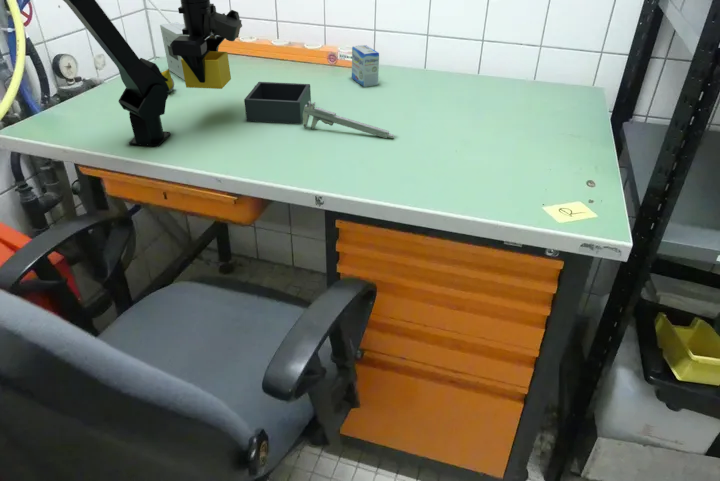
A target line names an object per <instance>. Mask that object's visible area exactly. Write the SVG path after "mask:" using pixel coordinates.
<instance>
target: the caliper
mask: <svg viewBox="0 0 720 481" xmlns="http://www.w3.org/2000/svg"><path fill="white" fill-rule="evenodd" d="M315 105H316V101H314V102H313V103H312V100H311V101H309V102H308V105H305V107H304V111H303V121H302V124H303V127H304V128H305V129H306V128H307V127H308V123H309V119H310V117H312V120H311V124H310V125H311V127H310V130H314V129H315V127H316V126H317V124H318V122H319V121H321V122H322V123H324V125H325V124H326V125H329V126H333V125H334V124H336V125H339V126H343V127H347V128H350V129H353V130H357V131H360V132H364V133H367V134H370V135H373V136H377V137H379V138H382V139H388V138H390V139H394V137H395V135H394V133H391V132H390V131H389V130H388V129H384V128H381V127H377V126H374V125H370V124H367V123H364V122H361V121H358V120H354V119H350V118H347V117H344V116H340V115H337V113H336V112H333V111H331V110H327V109H324V108H320V107H317V106H316V107H315Z"/></svg>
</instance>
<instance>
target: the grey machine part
mask: <svg viewBox="0 0 720 481" xmlns="http://www.w3.org/2000/svg"><path fill="white" fill-rule="evenodd" d="M182 19H183V20H184V17H183V16H182ZM159 27H160V32H161V37H162V43H163V47H164V54H165V58H166V64H167V68H168V69H169V71H170V73H173V74H174V75H176V76H177V77H179V79H182V80H183V81H185V79H184V73H183V68H182V63H181V59H182V57H181V56H178V55H172V53H171V48H170V44H171V43H172V42H173V40H175V39H176V38H177V37H179V36H189V35H183V32H182V29H184V28H185V23H184V22H183V23H179V22H176V21H175V22H168V23H162V24H160V25H159Z"/></svg>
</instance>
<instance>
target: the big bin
mask: <svg viewBox="0 0 720 481" xmlns="http://www.w3.org/2000/svg"><path fill="white" fill-rule="evenodd" d="M311 94H312V92H311V84H310V83H295V82H291V83H290V82H272V81H258V82H257V83H256V85H254V87H253V88H252V90H251V91H249V92H248V94H247V95H246V97H245V98H244V99H243V102H244V112H245V118H246V122H254V123H255V122H256V123H275V124H290V125H291V124H294V125H301V124H303V111H304V107H305V105H308V102H309V101H311V102H312V95H311Z"/></svg>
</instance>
